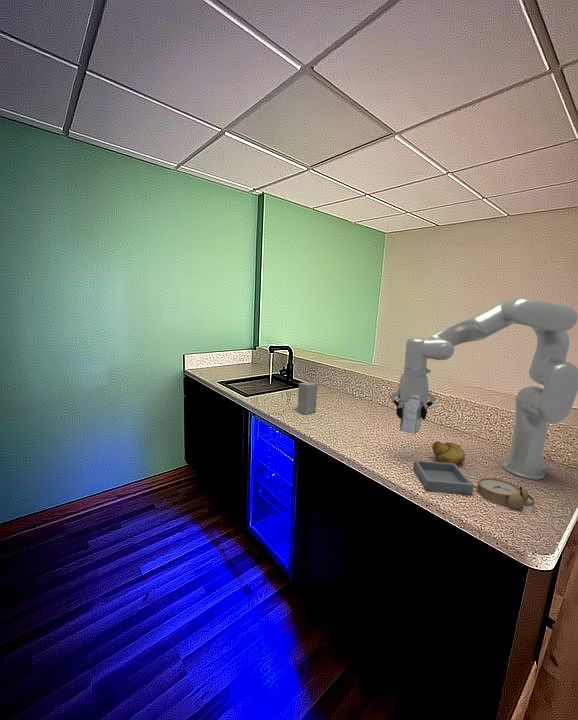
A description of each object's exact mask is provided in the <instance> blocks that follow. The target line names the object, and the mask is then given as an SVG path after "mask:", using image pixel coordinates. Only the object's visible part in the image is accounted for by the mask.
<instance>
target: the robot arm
mask: <svg viewBox="0 0 578 720" xmlns="http://www.w3.org/2000/svg"><path fill="white" fill-rule="evenodd" d="M577 322H578V314H577V312H576V310H575V309H573V307H570V306H568V305H565V304H560V303H554V302H548V301H543V300H538V299H534V298H529V297H527V298H526V297H518V298H517V297H516V298H515V297H514V298H513V297H512V298H507V299H504V300H502V301H500V302H498V303H496V304H495V305H493V306H490V307H489V308H486V309H485V310H483V311H481V312H480V313H477V314H476V315H474V316H472V317H470V318H468V319H465V320H463V321H460V322H459V323H456V324H454V325H451V326H449V327H447V328H445V329H443V330H440V331H439V332H437V333H435V334H434V335H432V336H429V338H427V339H426V338H423V337H422V338H420V337H419V338H418V337H411V338H408V339H407V340H406V345H405V355H404V365H403V366H404V367H403V368H404V369H403V373H402V374H400V377H399V378H400V379H399V382H398V387H397V391H395V392H393V393H391V394H390V395H389V399H390V400H391V402H392V403H393V404H394V405H395V406H396V416H397V417H398V419H400V420H401V418H402V405H403V404H404V403H405V402H408V401H409V399H410V396H411V395H417V396H420V403H422V413H421V420H422V421H423V420H426V417H427V413H428V410H429V408H430V407H431V406H432V405H433V404H434V403H435V402H436V400H437V397H435V396H434V395H433V394H432V393H430V392H429V379H428V376H427V374H430V373H431V369H430V368H429V369H428V367H427V366H428V365H427V364H428V360H429V359H430V360H433V361H434V360H435V361H446V360H449V359H451V358H452V356H453V355H454V353H455V347H456V346H458V345H461V344H465V343H470V342H478V341H481V340H484V339H487V338H489V337H491V336H492V335H495V334H496V333H498V332H500V331H502V330H504V329H506V328H508V327H510V326H511V325H521V326H527V327H530V328H531V329H532V330H533V331H534V333H535V335H536V339H537V344H536V348H535V351H534V355H533V357H532V361H531V364H530V367H529V371H528V375H529V378H530V379H531V380H532V381H533V382H535V383H537V384H539V385H542V386H543V388H542V387H540V386H539V387H538V386H532V385H531V386H526V387H522V388H521V389H520V390H519V391H518V392H517V394H516V395H515V418H514V419H515V420H514V424H513V430H512V436H511V442H510V447H509V452H508V453H509V454H508V459H507V460H503V461H502V464H501V466H502V468H503V469H504V470H505V471H507V472H508V473H511V474H512V475H515V476H516V477H520V478H524V479H528V480H535V481H536V480H543V479H544V478H545V472H544V471H546V470H547V471H555V468H556V467H555V465H553V464H546V461H542V459H543V454H544V450H545V445H546V439H547V434H548V426H549V423H550V424H556V423H560V422H562V421H564V420H565V419H566V418H567V417H568V416H569V415H570V412H571V411H572V408H573V405H574V402H575V400H576V398H577V395H578V367H577V366H576V365H575V364H573V363H571V362H568V361H566V359H567V355H568V352H569V349H570V337H569V334H568V331H570V330H571V329H572V328H574V327H575V325H576V324H577ZM396 397H397V398H398V401H397V400H396ZM429 398H430V400H429Z"/></svg>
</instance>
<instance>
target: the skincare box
mask: <svg viewBox="0 0 578 720" xmlns="http://www.w3.org/2000/svg"><path fill="white" fill-rule="evenodd" d="M317 392H318V383H314V382H310V381H307V382H305V381H304V382H300V383H298V393H297V395H298V396H297V397H298V398H297V412H299V413H301V414H303V415H305V416H307V415H310V414H314V413H316V412H317V398H318V393H317Z"/></svg>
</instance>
